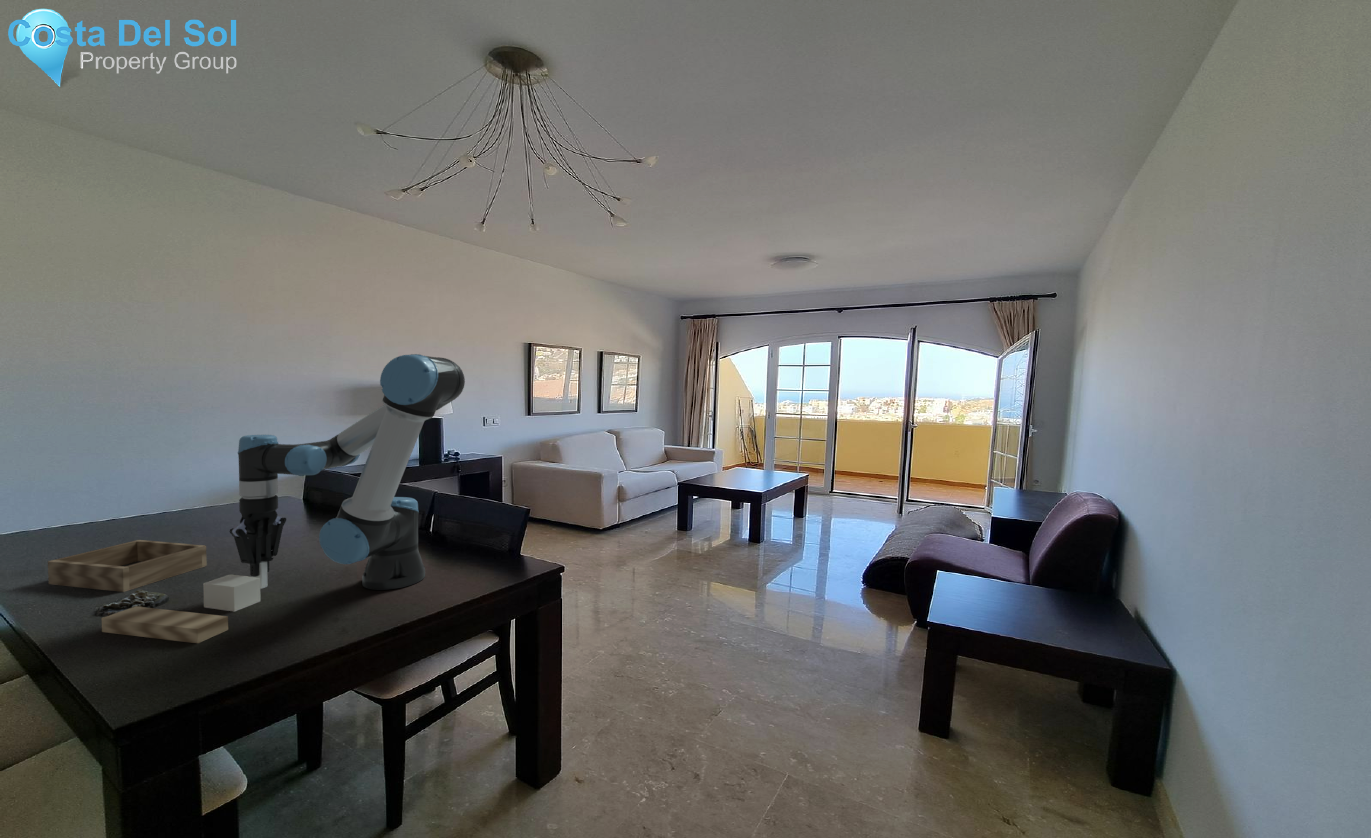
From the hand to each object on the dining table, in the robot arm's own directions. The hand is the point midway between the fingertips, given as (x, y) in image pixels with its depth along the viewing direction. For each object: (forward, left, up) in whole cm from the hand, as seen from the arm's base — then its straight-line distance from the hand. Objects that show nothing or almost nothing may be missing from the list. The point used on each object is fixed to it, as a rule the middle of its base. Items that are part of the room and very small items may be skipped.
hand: (260, 586), depth 130 cm
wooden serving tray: (+44, -3, -2) cm, 44 cm away
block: (0, +7, -2) cm, 7 cm away
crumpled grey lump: (+21, +12, -2) cm, 24 cm away
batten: (0, +21, -2) cm, 21 cm away
